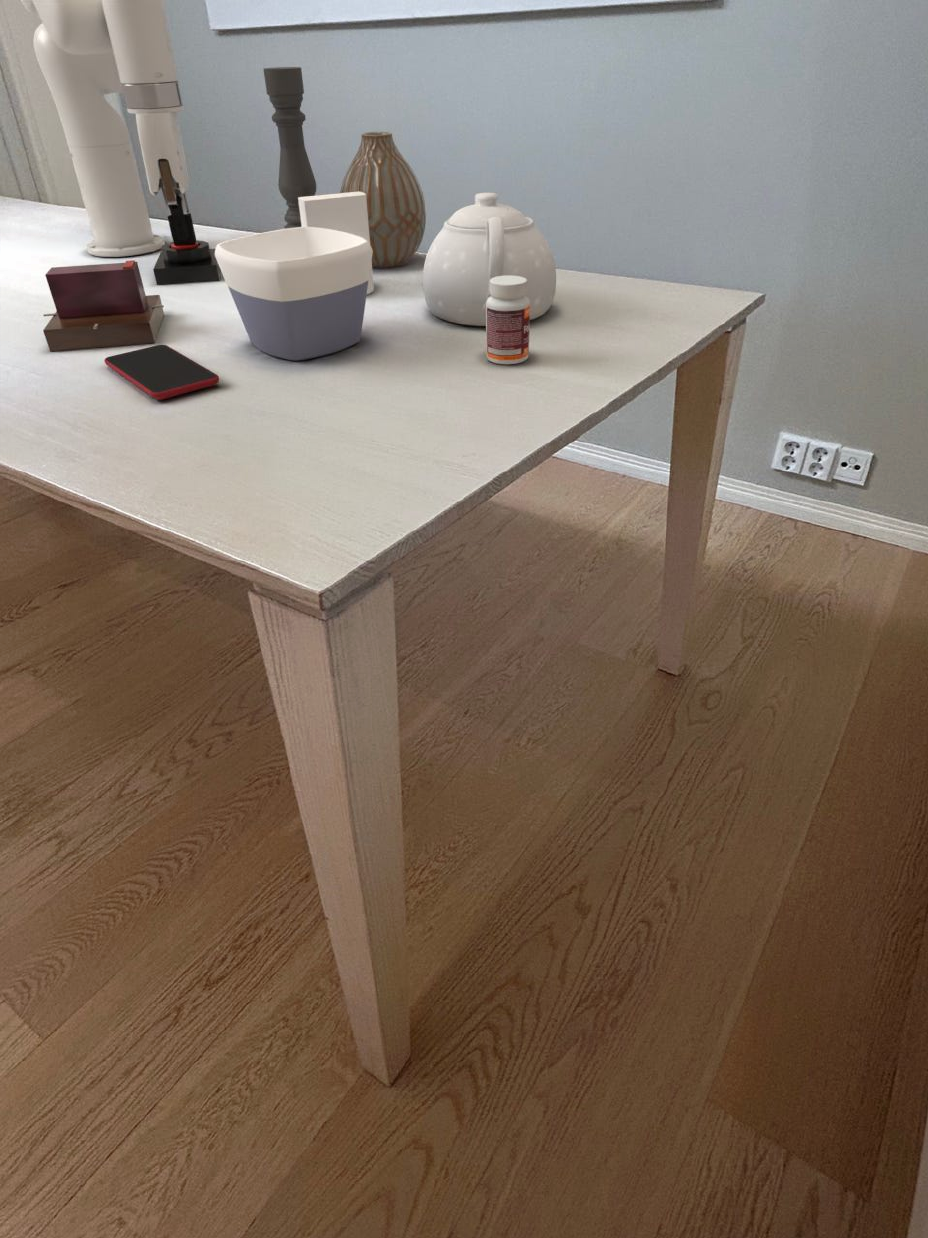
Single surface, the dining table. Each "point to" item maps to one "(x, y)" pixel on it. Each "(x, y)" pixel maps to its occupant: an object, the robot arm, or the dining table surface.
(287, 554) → the dining table surface
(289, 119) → the candle holder
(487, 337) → the pill bottle
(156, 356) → the smartphone
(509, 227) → the teapot
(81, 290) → the bar
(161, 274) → the button block
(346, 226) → the base with upright slab
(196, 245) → the button
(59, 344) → the panel
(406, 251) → the vase
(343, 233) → the bowl
